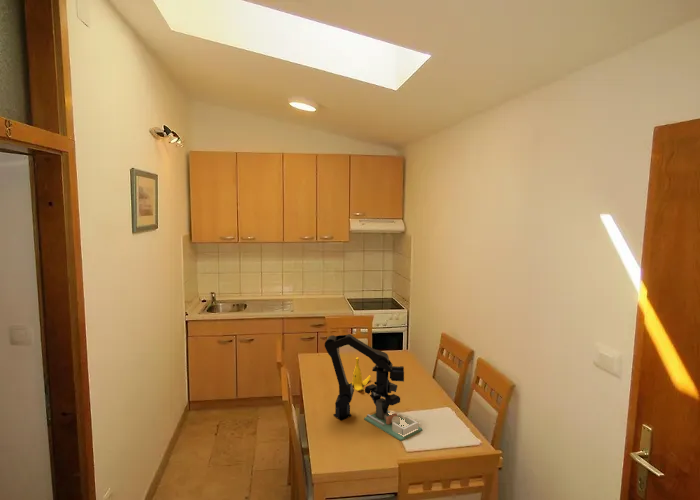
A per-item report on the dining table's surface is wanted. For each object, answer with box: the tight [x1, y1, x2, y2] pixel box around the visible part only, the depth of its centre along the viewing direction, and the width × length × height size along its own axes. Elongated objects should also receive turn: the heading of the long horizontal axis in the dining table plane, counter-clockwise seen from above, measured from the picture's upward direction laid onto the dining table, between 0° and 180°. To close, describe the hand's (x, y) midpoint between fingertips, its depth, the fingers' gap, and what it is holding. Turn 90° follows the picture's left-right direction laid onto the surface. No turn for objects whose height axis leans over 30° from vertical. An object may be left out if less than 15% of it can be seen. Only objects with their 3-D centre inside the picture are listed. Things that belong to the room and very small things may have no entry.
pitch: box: [363, 410, 423, 442], centre depth 193 cm, size 14×24×4 cm, turn 39°
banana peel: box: [348, 357, 372, 392], centre depth 236 cm, size 16×19×17 cm
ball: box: [392, 415, 400, 425], centre depth 191 cm, size 4×4×4 cm
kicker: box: [375, 397, 398, 425], centre depth 196 cm, size 6×9×8 cm, turn 39°
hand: (381, 411), depth 198 cm, fingers closed on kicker, 4 cm apart
